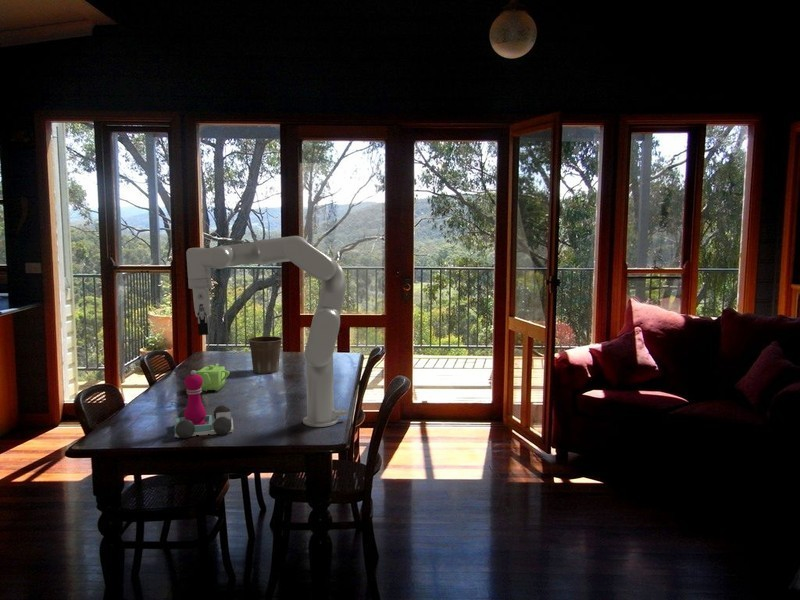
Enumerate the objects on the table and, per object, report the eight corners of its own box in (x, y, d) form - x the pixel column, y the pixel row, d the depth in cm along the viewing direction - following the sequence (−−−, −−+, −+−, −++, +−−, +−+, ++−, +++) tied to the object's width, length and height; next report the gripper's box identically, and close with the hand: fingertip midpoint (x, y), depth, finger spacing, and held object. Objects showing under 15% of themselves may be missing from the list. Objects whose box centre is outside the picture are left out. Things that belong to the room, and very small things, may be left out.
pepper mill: (185, 431, 214) (182, 373, 212) (184, 425, 220) (181, 369, 218) (207, 428, 216) (204, 371, 214) (205, 422, 223) (203, 367, 221)
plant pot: (287, 367, 314) (286, 336, 313) (277, 375, 298) (276, 341, 297) (255, 367, 316) (254, 335, 314) (244, 374, 300) (243, 341, 298)
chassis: (232, 419, 230) (231, 403, 229) (233, 433, 214) (232, 416, 214) (177, 424, 225) (176, 408, 224) (174, 439, 209) (173, 421, 209)
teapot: (205, 395, 264) (204, 370, 262) (188, 390, 272) (186, 366, 271) (236, 388, 275) (235, 364, 274) (218, 383, 284) (217, 360, 283)
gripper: (211, 285, 210) (215, 335, 212) (211, 281, 226) (214, 328, 228) (188, 286, 207) (191, 337, 209) (189, 282, 224) (192, 329, 226)
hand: (203, 332), depth 219 cm, fingers open, 9 cm apart
